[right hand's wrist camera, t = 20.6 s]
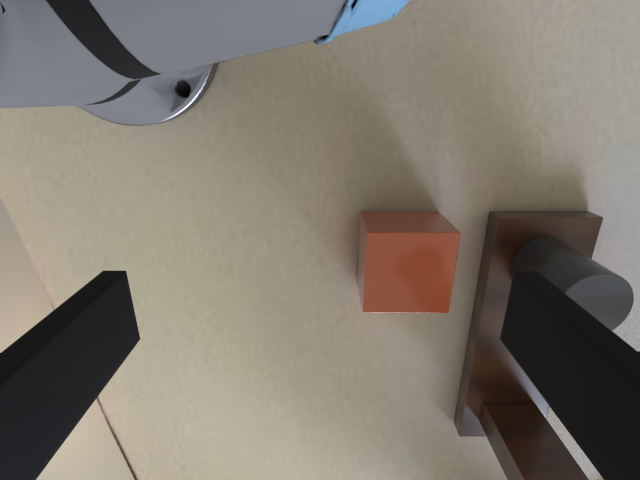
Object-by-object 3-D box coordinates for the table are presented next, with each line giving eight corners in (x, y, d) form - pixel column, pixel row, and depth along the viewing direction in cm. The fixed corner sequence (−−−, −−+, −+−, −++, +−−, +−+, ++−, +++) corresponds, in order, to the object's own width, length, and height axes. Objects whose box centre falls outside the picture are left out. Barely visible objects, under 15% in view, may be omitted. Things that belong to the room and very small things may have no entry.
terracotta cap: (359, 211, 37) (367, 232, 32) (439, 211, 37) (460, 232, 32) (356, 282, 40) (362, 313, 35) (430, 283, 40) (448, 313, 35)
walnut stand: (489, 211, 37) (561, 260, 26) (589, 211, 37) (704, 260, 26) (453, 423, 47) (495, 524, 36) (532, 423, 47) (598, 524, 36)
